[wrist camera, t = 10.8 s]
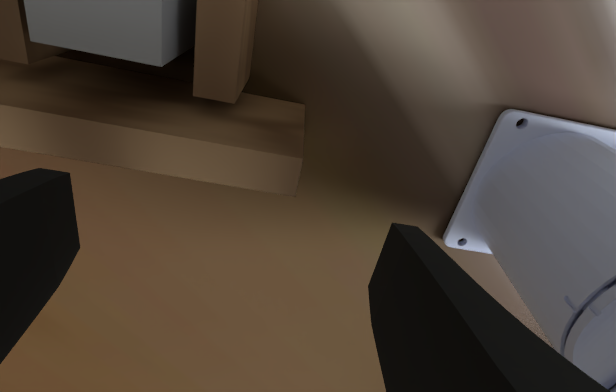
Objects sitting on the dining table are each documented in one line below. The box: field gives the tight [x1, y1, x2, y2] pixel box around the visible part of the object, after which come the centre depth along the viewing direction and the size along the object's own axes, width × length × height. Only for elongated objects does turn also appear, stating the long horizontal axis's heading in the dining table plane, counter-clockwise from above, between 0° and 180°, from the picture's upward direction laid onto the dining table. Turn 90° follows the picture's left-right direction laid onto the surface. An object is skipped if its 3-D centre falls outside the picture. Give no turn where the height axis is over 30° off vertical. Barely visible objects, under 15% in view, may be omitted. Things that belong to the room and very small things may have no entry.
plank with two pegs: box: [0, 0, 305, 197], centre depth 14 cm, size 14×6×6 cm, turn 79°
